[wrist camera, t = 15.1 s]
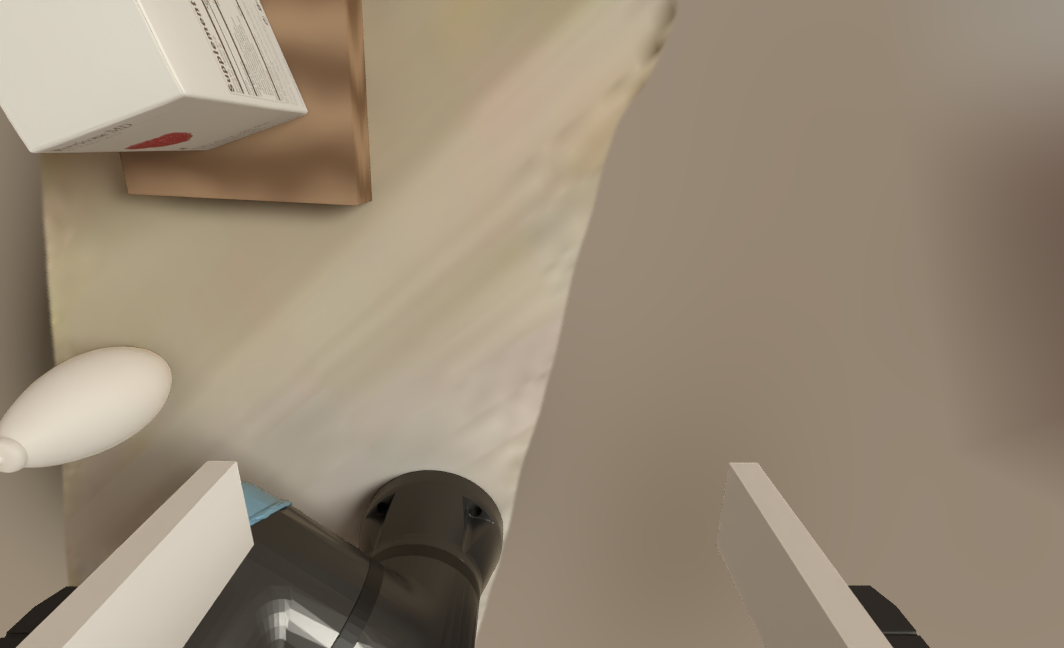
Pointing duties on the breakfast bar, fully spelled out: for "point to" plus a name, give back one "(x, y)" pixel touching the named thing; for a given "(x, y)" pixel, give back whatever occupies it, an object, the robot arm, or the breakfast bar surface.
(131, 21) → the supplement box
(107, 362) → the white teardrop-shaped piece
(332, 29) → the walnut riser
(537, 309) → the breakfast bar surface
